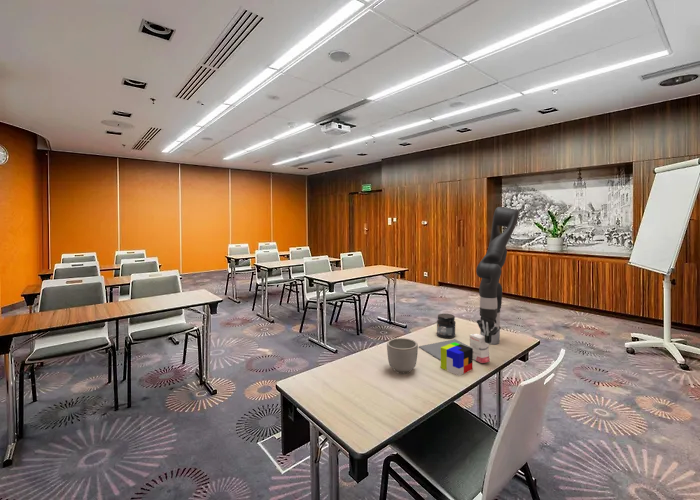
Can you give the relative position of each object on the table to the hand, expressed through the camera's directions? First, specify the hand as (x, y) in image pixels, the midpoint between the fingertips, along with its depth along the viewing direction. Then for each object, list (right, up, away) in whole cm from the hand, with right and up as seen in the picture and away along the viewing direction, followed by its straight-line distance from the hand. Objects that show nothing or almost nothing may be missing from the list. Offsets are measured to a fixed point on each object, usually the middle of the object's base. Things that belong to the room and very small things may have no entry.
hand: (488, 342), depth 159 cm
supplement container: (-8, -7, +40) cm, 42 cm away
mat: (-12, -9, +19) cm, 24 cm away
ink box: (-2, -10, +6) cm, 12 cm away
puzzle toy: (-15, -12, -2) cm, 19 cm away
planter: (-40, -12, -2) cm, 42 cm away
